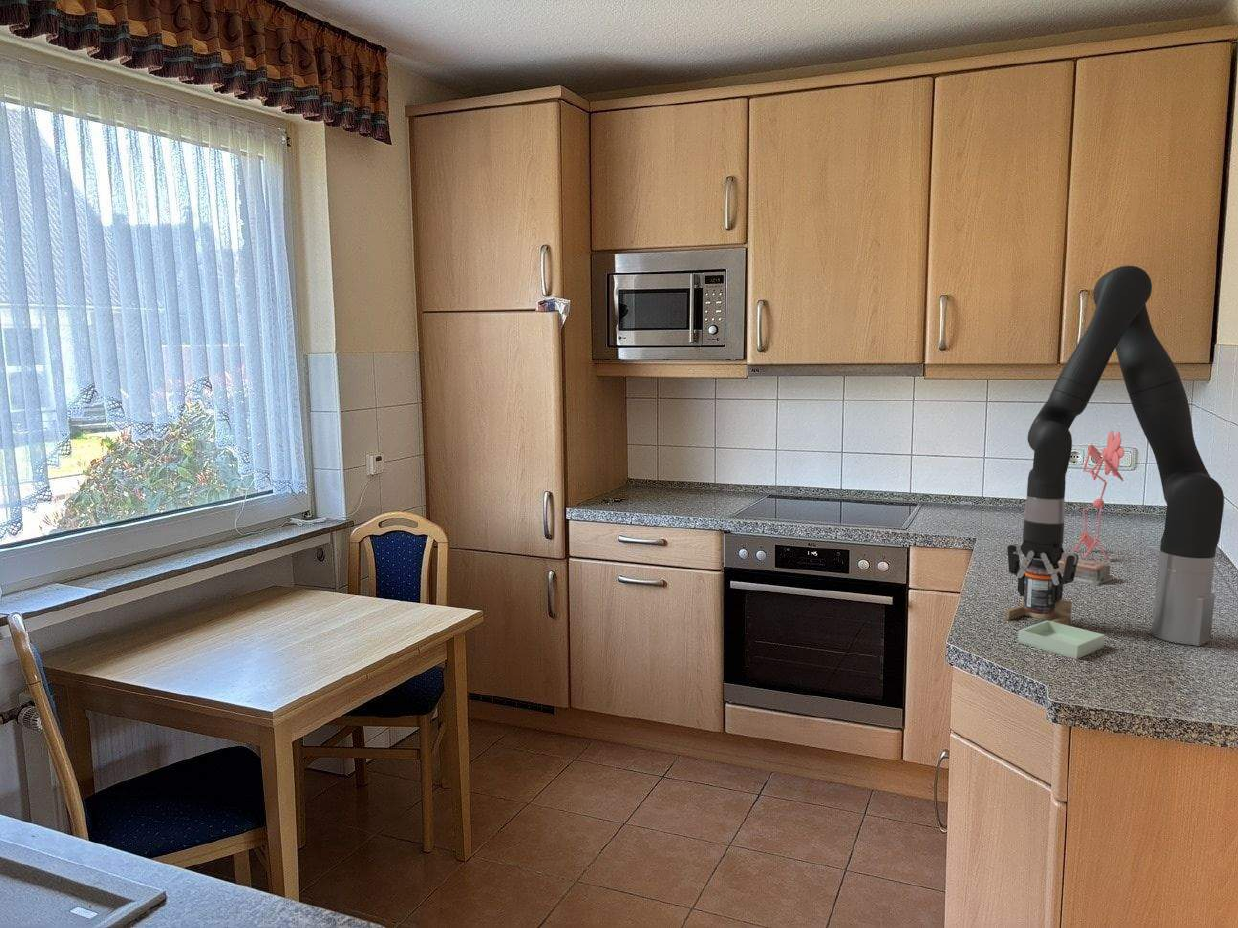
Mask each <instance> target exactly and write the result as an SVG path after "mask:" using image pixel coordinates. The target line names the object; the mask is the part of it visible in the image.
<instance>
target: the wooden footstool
mask: <svg viewBox="0 0 1238 928" xmlns="http://www.w3.org/2000/svg"><path fill="white" fill-rule="evenodd" d="M1021 599H1022V600H1021V604H1020V605H1018V606H1014V607H1013V608H1009V609H1005V611H1004V621H1008V622H1009V621H1011V620H1014V619H1017V618H1019V617H1023V616H1028V617H1032V618H1035V619H1039V620H1042V621H1043V620H1044V621H1046V620H1048V621H1052V622H1056V623H1060V624H1064V625H1068V626H1071V615H1072V601H1070V600H1066V599H1063V598H1062V599H1061V600H1059V602H1057V603H1055V609H1054V612H1053V613H1050V614H1035V613H1031V612H1028V611H1026V610H1025V609H1024V607H1023V600H1024V596H1021Z"/></svg>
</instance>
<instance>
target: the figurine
mask: <svg viewBox="0 0 1238 928" xmlns="http://www.w3.org/2000/svg"><path fill="white" fill-rule="evenodd" d="M1106 441H1107V442H1106V447H1104V448H1103V449H1102V450H1101V453H1100V451H1099V449H1097V447H1095V446H1094V444H1089V445H1088V447H1087V451H1088V452H1087V455H1086V460H1085V463H1084V466H1083V471H1082V472H1087V473H1090V475H1091V477H1092V480H1093V481H1096V479H1097V478H1098V479H1099V480H1101V481H1102V482H1103V483H1104V485H1103V488H1102V492H1101V495H1100V498H1096V499H1094V500H1093V505H1092V506H1089V507H1087V508H1083V509H1082V512H1083V521H1084V522H1083V523H1084V530H1083V531H1082V532H1081V533H1080V537H1081V538H1080V540H1079V542H1078V543H1077V544H1076V546H1075V547H1074V548H1073V550H1072V551H1073V552H1074V551H1075V552H1076V551H1077V549H1078V548H1079V547H1080V545H1081V544H1082V543H1083V544H1084V545H1085V546H1086V548H1088V550H1087V552H1086V553H1085V554H1084V556H1083V559H1084V558H1086V559H1087V557H1088V556H1089V554H1090V553H1091V551H1092V550H1094V547H1095V546H1096V545H1097V546H1098V548H1099V549H1100V550H1101V552H1102V553H1103V555H1104V556H1105V558H1106V559H1107V560H1108V562H1110V561H1111V559H1110V558H1109V556H1108V555H1107V553H1106V550H1103V549H1104V548H1103V547H1102V545H1101V544H1100V540H1099V536H1100V535H1099V533H1100V526H1101V524H1100V523H1101V515H1102V509H1103V508H1104V506H1105V502H1104V500H1103V498H1104V497H1103V496H1104V494H1105V493H1104V492H1105V490H1106V487H1107V480H1105V479H1104V478H1103V477H1101V476H1100V475H1099V472H1100V470H1101V468H1102V465H1103V463H1104V474H1105V476H1108V475H1109V474H1110V473H1112V476H1113V477H1117V478H1118V479H1120V480H1121V481H1122V482H1123V481H1124V479H1123V477H1122V475H1121V474H1120V473H1119V471H1118V469H1119V467H1120V459H1122V458H1123V457H1124V456H1125V450H1124V448H1123V447H1122V446H1121V444H1122V438H1121V432H1120V431H1118V432H1117V433H1116V434H1115V436H1114V431H1113V430H1110V431H1109V433H1108V437H1107V440H1106ZM1101 455H1102V456H1101ZM1090 457H1091V458H1092V459H1093V461H1094V462H1095V463H1096V464H1095V465H1094V466H1093V468H1091V469H1087V465H1088V462H1089V460H1090V459H1089V458H1090ZM1096 468H1097V470H1096V472H1095V469H1096ZM1091 508H1096V509H1099V513H1098V521H1097V522H1098V524H1097V533H1096V534H1097V535H1096V537H1093V538H1092V537H1091V535H1090V534H1089V533H1088V532H1087V520H1086V510H1089V509H1091Z"/></svg>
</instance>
